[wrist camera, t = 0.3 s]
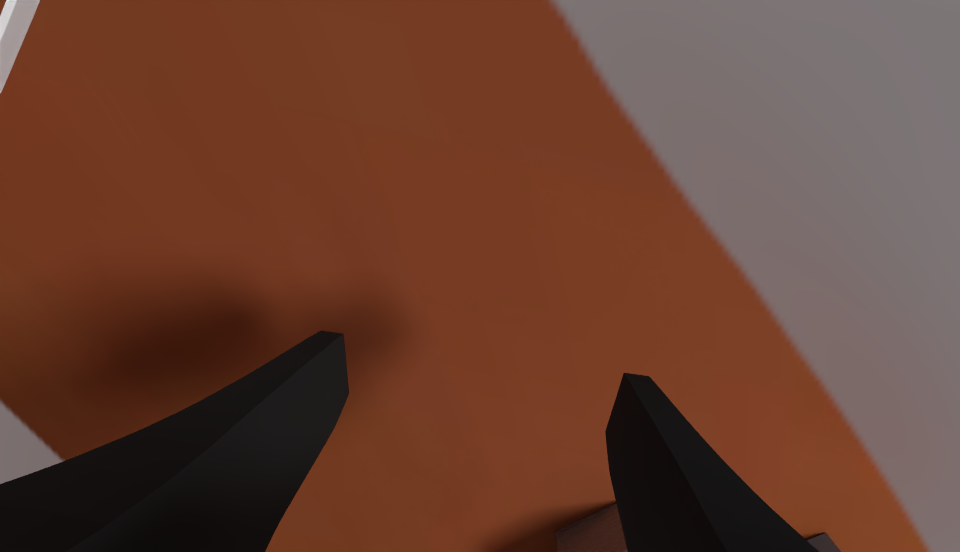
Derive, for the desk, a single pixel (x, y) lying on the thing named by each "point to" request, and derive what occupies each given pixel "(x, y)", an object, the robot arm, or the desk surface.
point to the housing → (593, 533)
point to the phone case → (13, 32)
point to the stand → (823, 543)
